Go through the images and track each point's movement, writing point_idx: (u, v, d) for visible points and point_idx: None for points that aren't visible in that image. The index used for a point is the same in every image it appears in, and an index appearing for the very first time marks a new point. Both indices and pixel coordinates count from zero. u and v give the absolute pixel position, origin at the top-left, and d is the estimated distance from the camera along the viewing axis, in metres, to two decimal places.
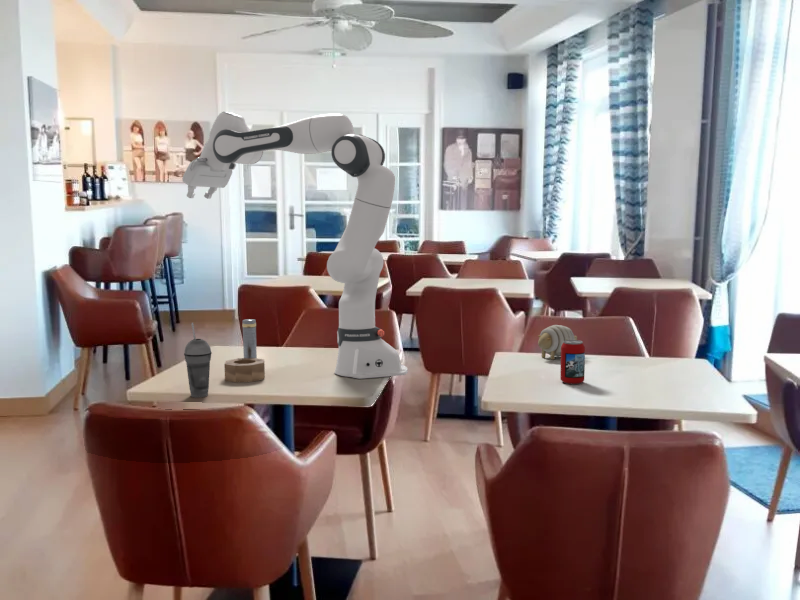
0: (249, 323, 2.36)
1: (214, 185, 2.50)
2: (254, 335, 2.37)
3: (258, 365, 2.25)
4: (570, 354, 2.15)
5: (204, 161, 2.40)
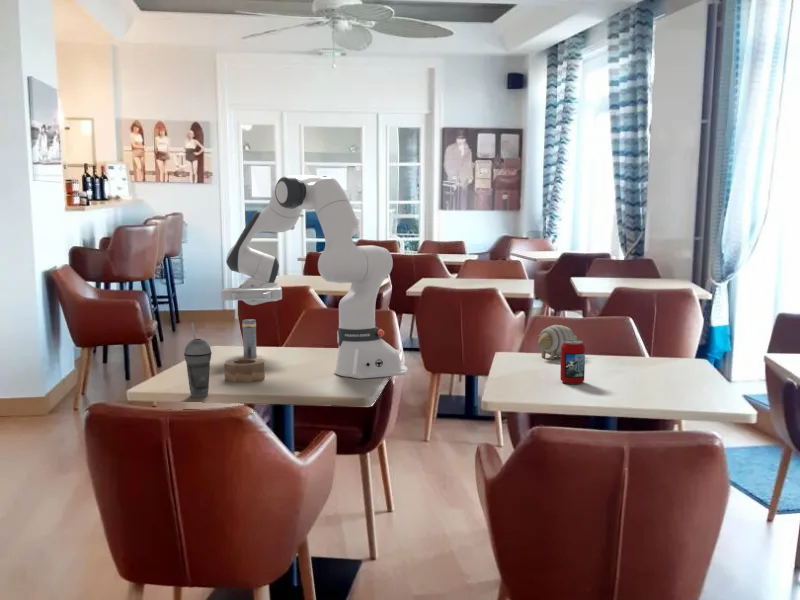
0: (249, 323, 2.36)
1: (261, 289, 2.56)
2: (254, 335, 2.37)
3: (258, 365, 2.25)
4: (570, 354, 2.15)
5: None
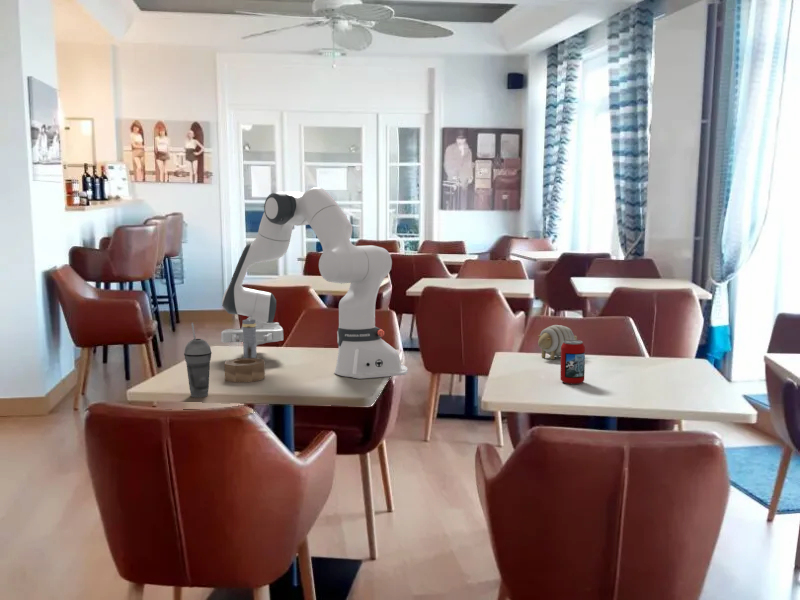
0: (249, 323, 2.36)
1: (262, 330, 2.51)
2: (254, 335, 2.37)
3: (258, 365, 2.25)
4: (570, 354, 2.15)
5: None
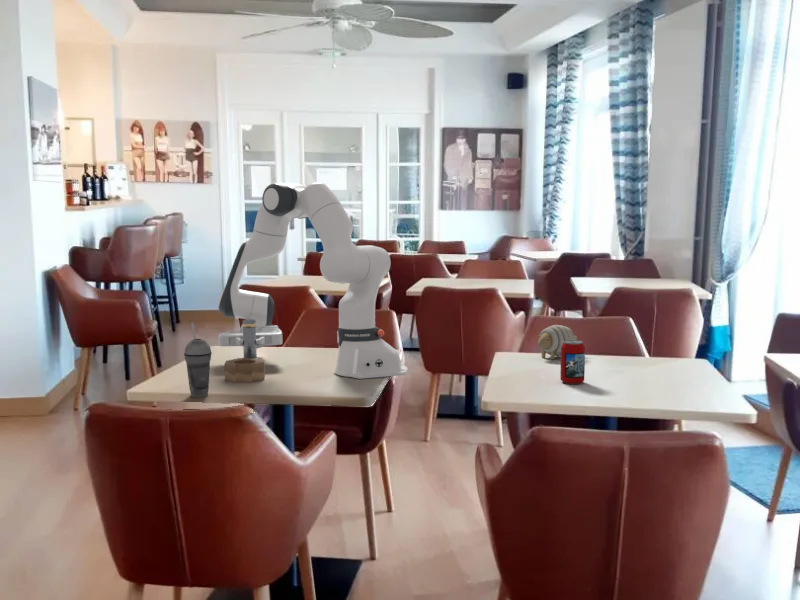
0: (249, 323, 2.36)
1: (261, 333, 2.43)
2: (254, 335, 2.37)
3: (258, 365, 2.25)
4: (570, 354, 2.15)
5: None
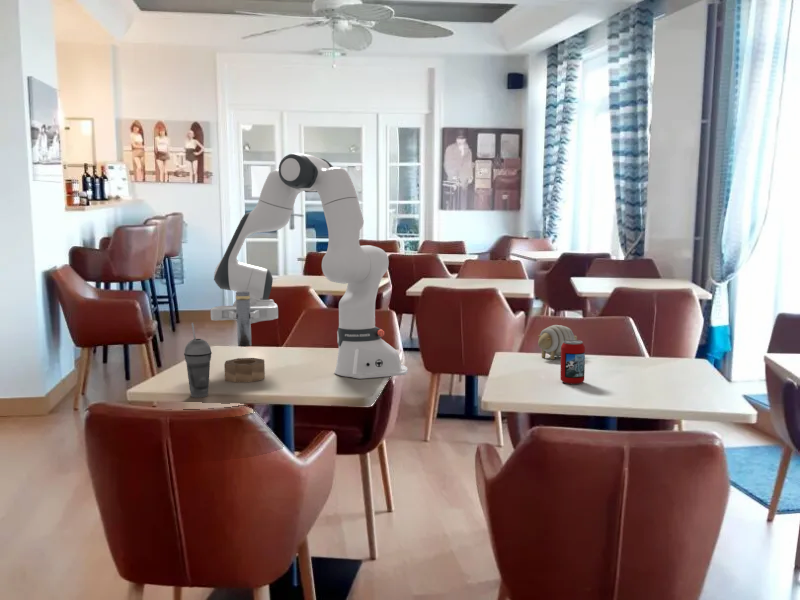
0: (243, 295, 2.24)
1: (255, 307, 2.31)
2: (248, 308, 2.25)
3: (258, 365, 2.25)
4: (570, 354, 2.15)
5: None
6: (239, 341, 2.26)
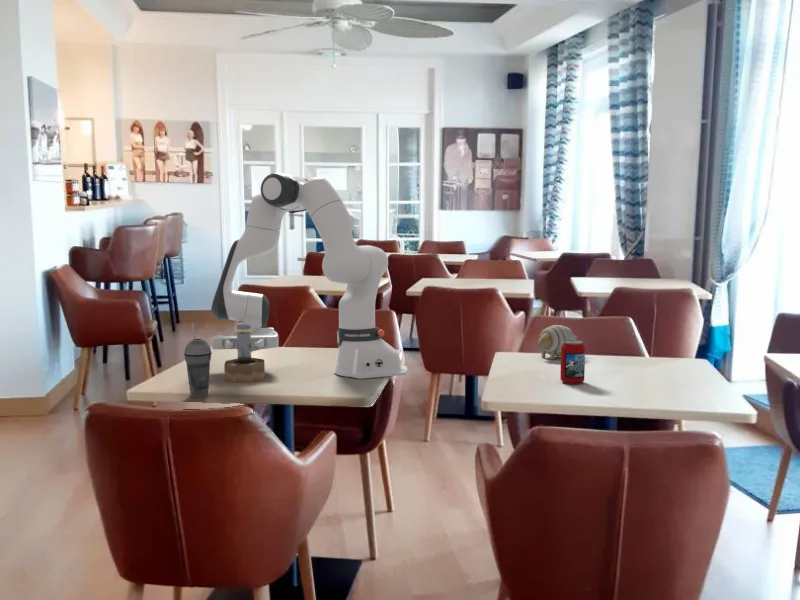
0: (243, 328, 2.25)
1: (256, 336, 2.32)
2: (249, 341, 2.26)
3: (258, 365, 2.25)
4: (570, 354, 2.15)
5: None
6: None
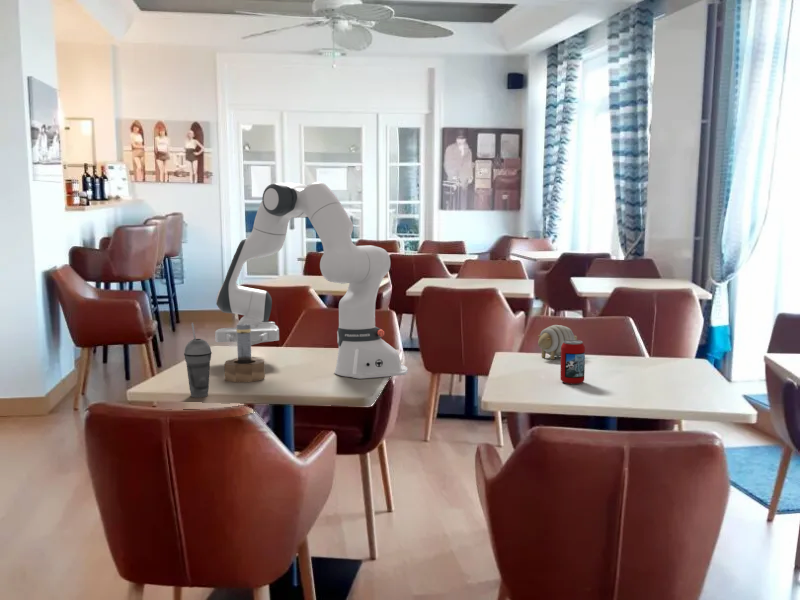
0: (243, 328, 2.25)
1: (257, 329, 2.44)
2: (249, 341, 2.26)
3: (258, 365, 2.25)
4: (570, 354, 2.15)
5: None
6: None
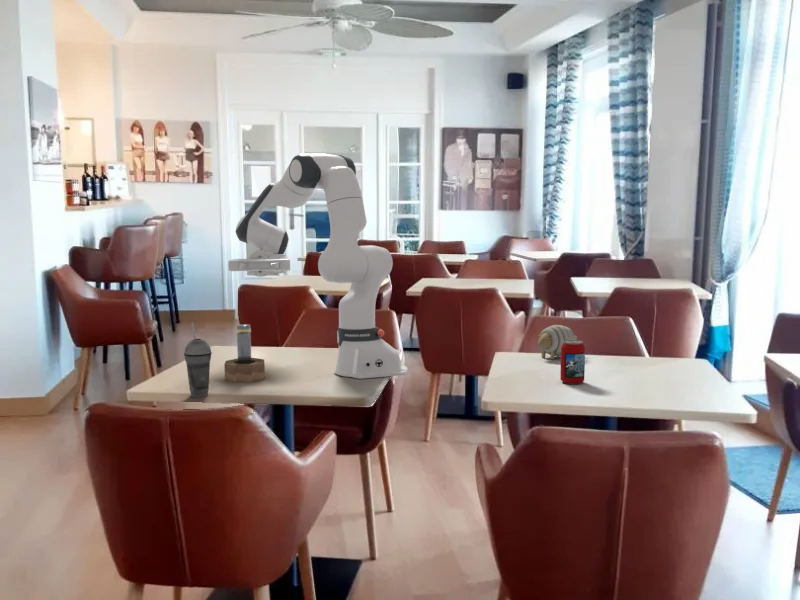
0: (243, 328, 2.25)
1: (269, 259, 2.51)
2: (249, 341, 2.26)
3: (258, 365, 2.25)
4: (570, 354, 2.15)
5: None
6: None
